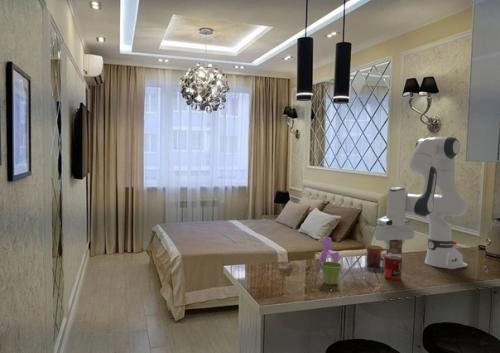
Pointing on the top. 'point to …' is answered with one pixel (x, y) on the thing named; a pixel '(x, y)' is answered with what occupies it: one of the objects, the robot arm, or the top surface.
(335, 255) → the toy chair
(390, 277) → the canned food
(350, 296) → the top surface
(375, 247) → the mug
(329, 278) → the plant pot
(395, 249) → the walnut block
